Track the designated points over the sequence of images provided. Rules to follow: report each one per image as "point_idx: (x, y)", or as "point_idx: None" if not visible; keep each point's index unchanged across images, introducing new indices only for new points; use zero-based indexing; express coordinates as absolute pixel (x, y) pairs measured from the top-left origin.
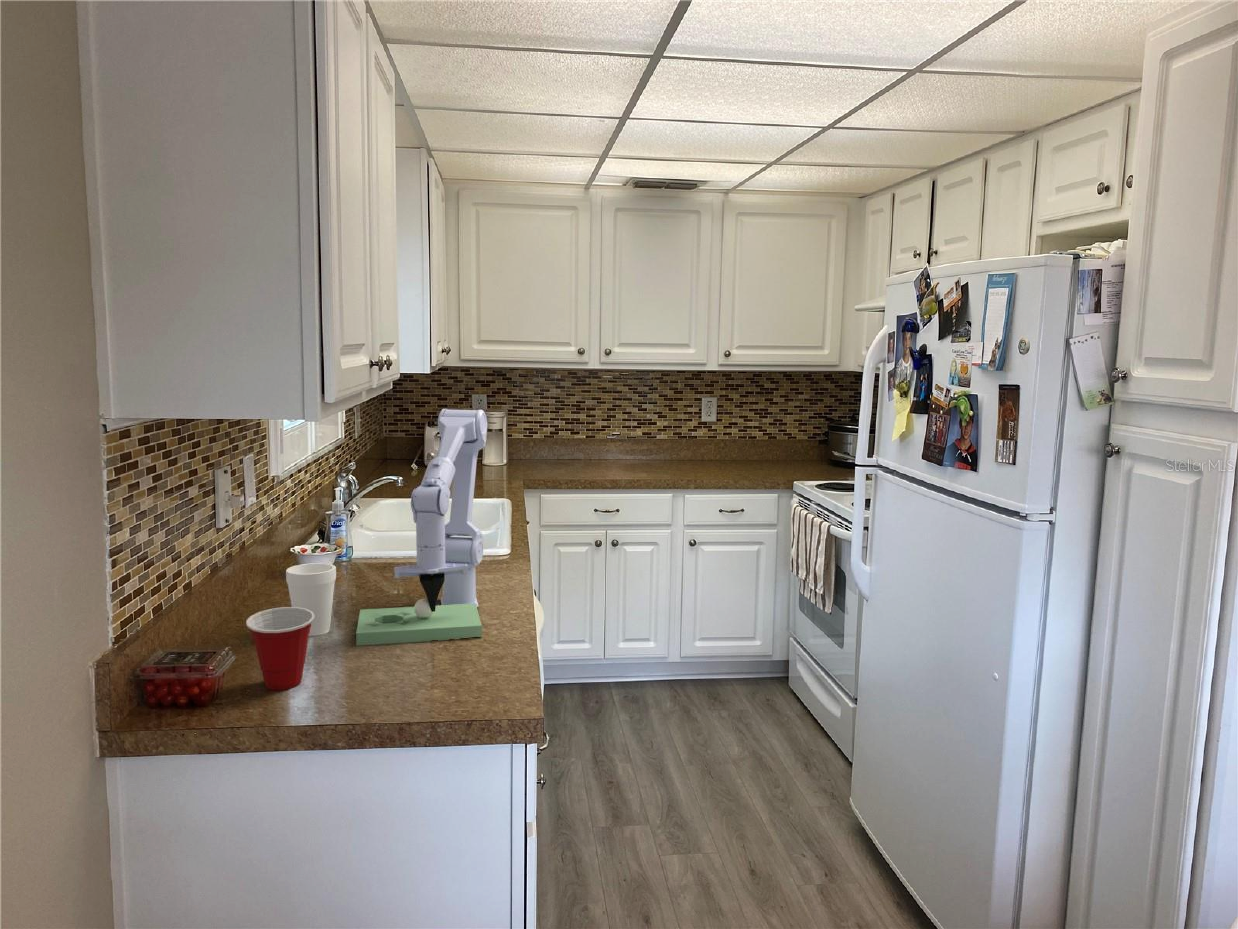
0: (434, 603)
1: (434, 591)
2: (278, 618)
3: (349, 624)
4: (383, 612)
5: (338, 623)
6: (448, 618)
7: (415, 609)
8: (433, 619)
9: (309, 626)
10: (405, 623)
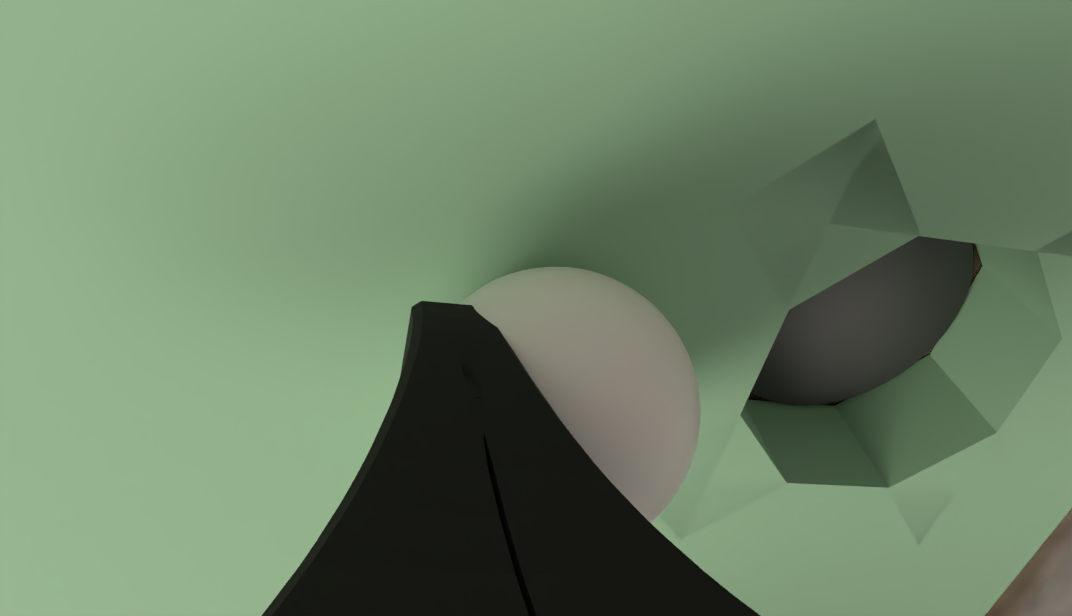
0: (435, 367)
1: (459, 529)
2: None
3: None
4: (848, 558)
5: (1052, 550)
6: (215, 198)
7: (694, 374)
8: (440, 219)
9: None
10: (826, 172)
